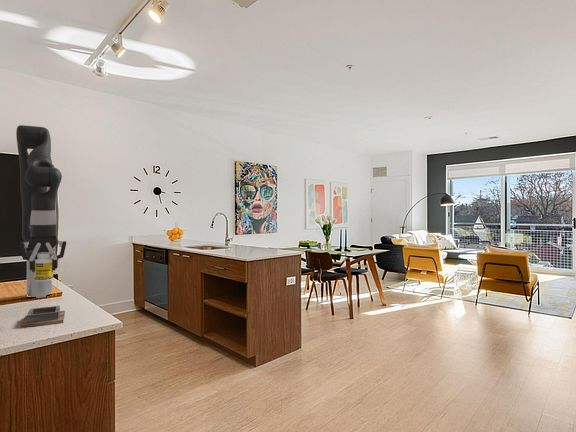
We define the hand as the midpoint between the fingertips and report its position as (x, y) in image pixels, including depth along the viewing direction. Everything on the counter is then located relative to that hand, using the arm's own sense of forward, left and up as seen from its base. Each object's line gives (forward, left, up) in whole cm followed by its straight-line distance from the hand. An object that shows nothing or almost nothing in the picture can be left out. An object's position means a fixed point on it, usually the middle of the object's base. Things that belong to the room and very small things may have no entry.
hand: (43, 270), depth 123 cm
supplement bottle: (0, 0, -4) cm, 4 cm away
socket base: (0, 0, -18) cm, 18 cm away
